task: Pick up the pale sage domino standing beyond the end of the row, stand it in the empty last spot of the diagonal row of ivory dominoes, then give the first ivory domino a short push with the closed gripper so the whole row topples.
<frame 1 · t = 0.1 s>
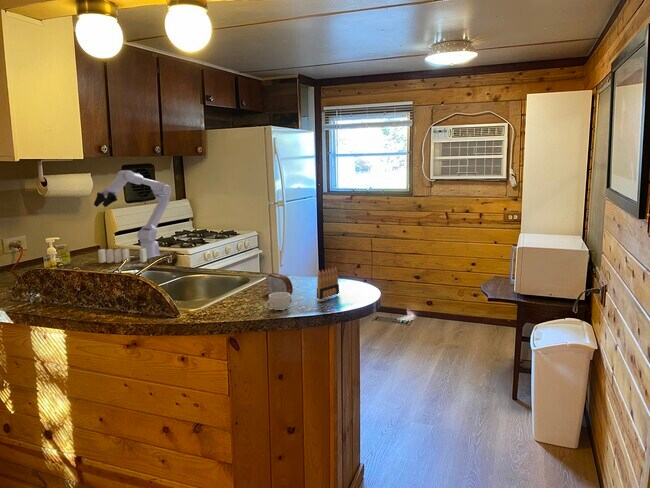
hand: (99, 205, 256), 32 cm above the countertop, tool tilted 50°, fingers open, 7 cm apart
grey brown rounded slab: (278, 296, 194), on the countertop
domino 1: (102, 262, 271), on the countertop
domino 3: (118, 261, 271), on the countertop
domino 2: (110, 262, 271), on the countertop
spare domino: (143, 261, 270), on the countertop
supplement box: (63, 265, 264), on the countertop
domino 4: (126, 261, 270), on the countertop
ammunition clip: (328, 299, 188), on the countertop
teacup: (277, 310, 174), on the countertop
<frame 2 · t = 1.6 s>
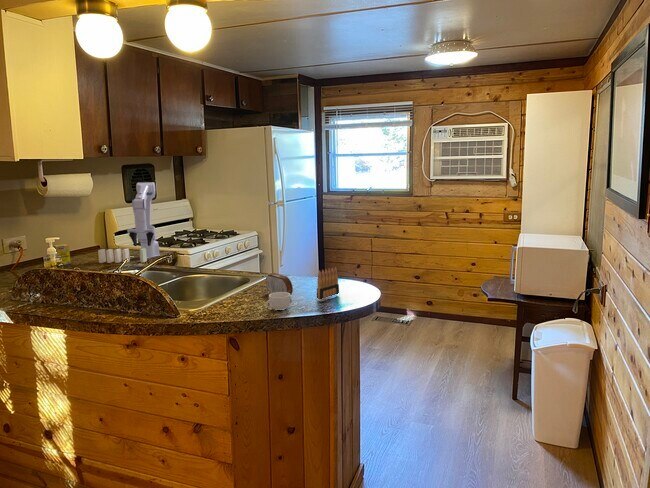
hand: (142, 245, 268), 9 cm above the countertop, tool pointing down, fingers open, 7 cm apart
nothing on the countertop moved.
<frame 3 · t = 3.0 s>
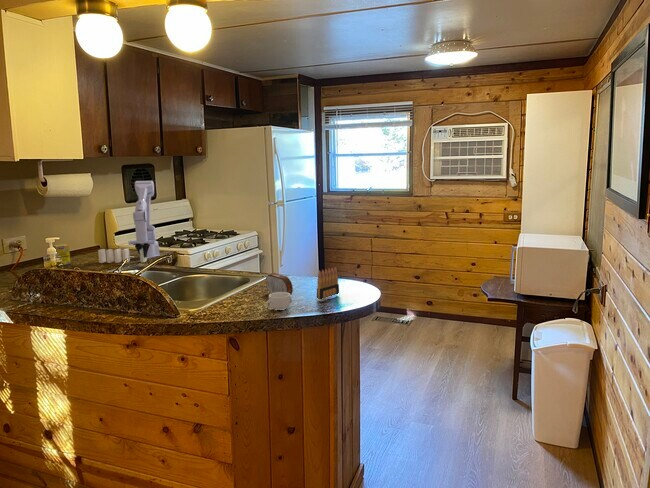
hand: (143, 257, 269), 2 cm above the countertop, tool pointing down, fingers closed on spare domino, 2 cm apart
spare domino: (143, 261, 270), on the countertop, touching gripper
everything else where it was.
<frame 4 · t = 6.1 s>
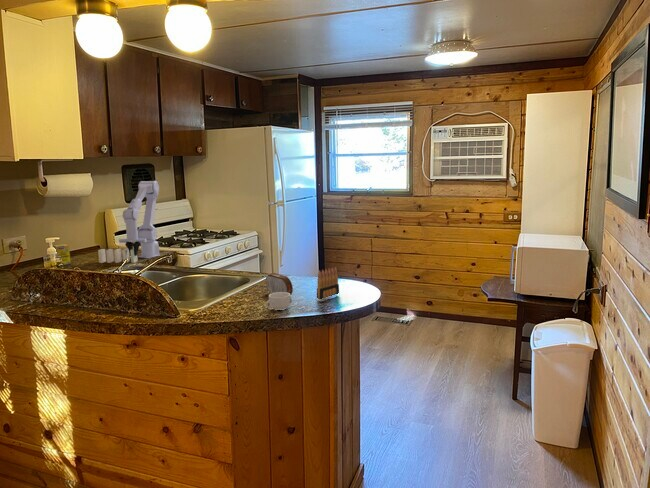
hand: (134, 255, 269), 3 cm above the countertop, tool pointing down, fingers closed on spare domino, 2 cm apart
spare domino: (134, 261, 270), on the countertop, touching gripper
everything else where it was.
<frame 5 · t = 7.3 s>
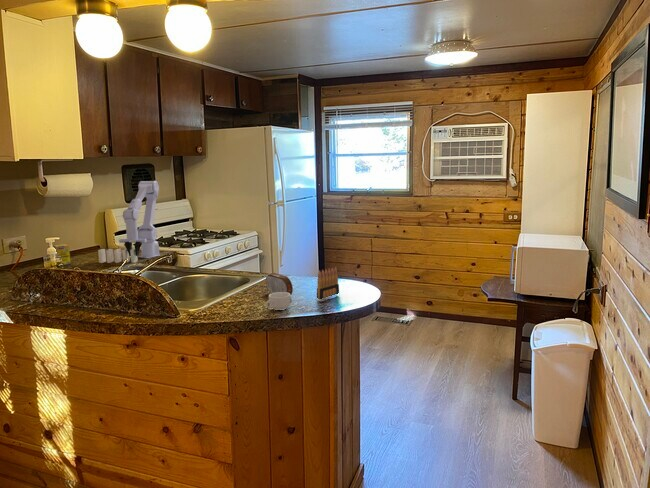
hand: (134, 255, 270), 3 cm above the countertop, tool pointing down, fingers open, 3 cm apart
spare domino: (134, 261, 270), on the countertop
everything else where it was.
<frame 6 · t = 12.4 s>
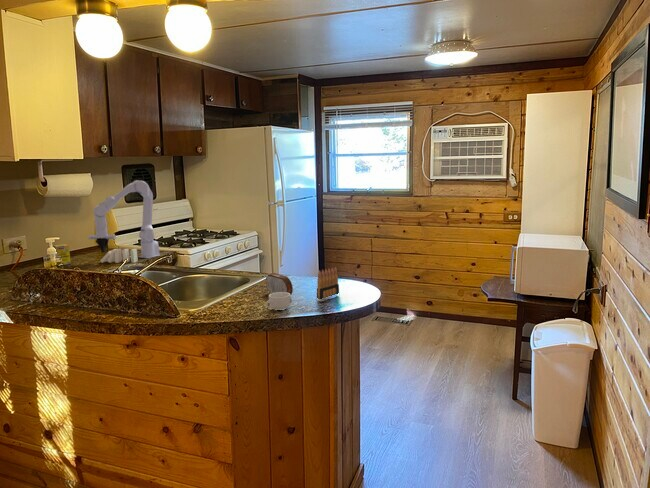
hand: (103, 252, 270), 6 cm above the countertop, tool pointing down, fingers closed
domino 1: (103, 261, 271), point 1 cm above the countertop, tilted 45°
domino 2: (110, 261, 271), on the countertop, tilted 25°
everything else where it was.
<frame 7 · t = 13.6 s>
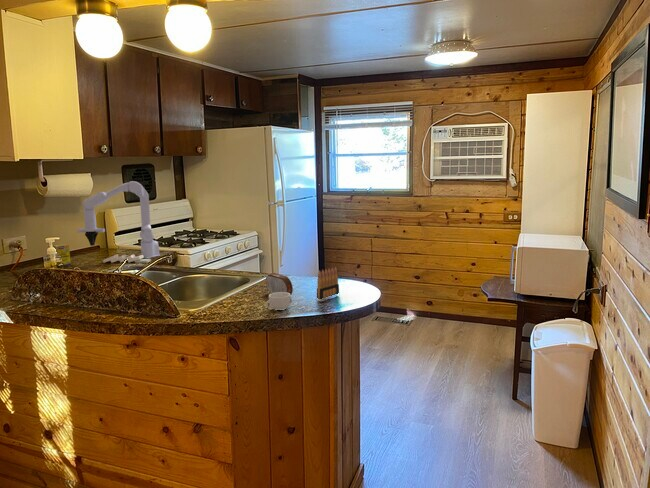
hand: (92, 245, 270), 9 cm above the countertop, tool pointing down, fingers closed
domino 1: (105, 260, 271), point 1 cm above the countertop, tilted 69°, touching domino 2
domino 3: (121, 260, 270), point 1 cm above the countertop, tilted 70°, touching domino 2, domino 4
domino 2: (112, 260, 270), point 1 cm above the countertop, tilted 70°, touching domino 1, domino 3
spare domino: (136, 261, 270), on the countertop, tilted 90°
domino 4: (130, 260, 270), point 1 cm above the countertop, tilted 74°, touching domino 3
everything else where it was.
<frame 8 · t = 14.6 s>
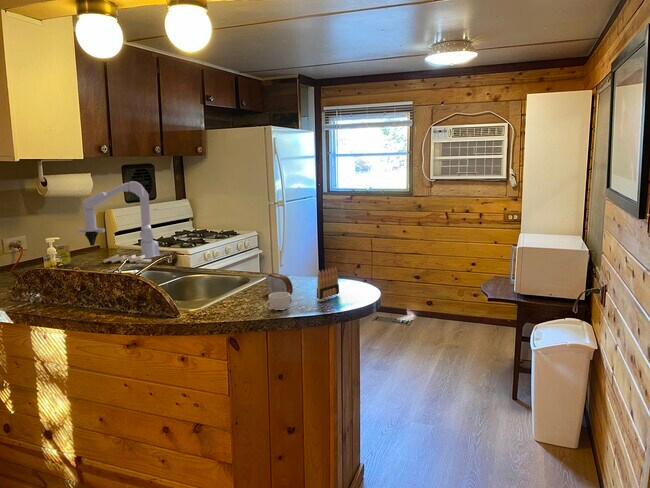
hand: (92, 245, 270), 9 cm above the countertop, tool pointing down, fingers closed
domino 3: (122, 260, 270), point 1 cm above the countertop, tilted 71°, touching domino 2
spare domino: (137, 261, 270), on the countertop, tilted 90°, touching domino 4
domino 4: (131, 260, 269), point 1 cm above the countertop, tilted 73°, touching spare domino
at the end: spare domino tilted 90°; domino 4 tilted 74°; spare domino 1.6 cm from the target spot, on the countertop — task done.
